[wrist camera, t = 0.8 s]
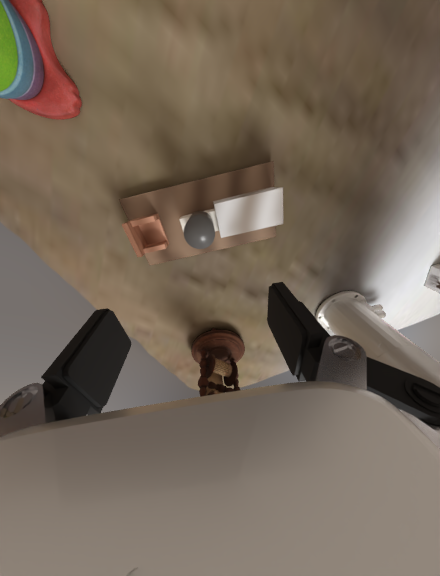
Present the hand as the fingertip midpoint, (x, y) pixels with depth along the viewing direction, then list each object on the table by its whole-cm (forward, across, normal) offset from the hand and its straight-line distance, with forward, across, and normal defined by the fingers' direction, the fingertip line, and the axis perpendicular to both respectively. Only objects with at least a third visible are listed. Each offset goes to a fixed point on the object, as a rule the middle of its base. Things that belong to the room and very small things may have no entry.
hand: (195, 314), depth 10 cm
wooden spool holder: (+25, +1, +33) cm, 42 cm away
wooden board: (+25, -1, -1) cm, 25 cm away
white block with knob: (+23, -5, -1) cm, 24 cm away
